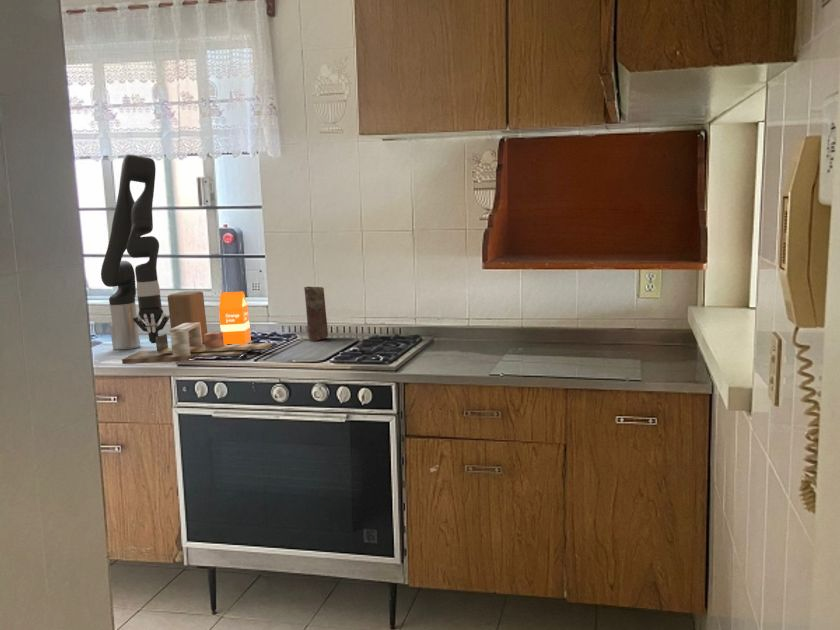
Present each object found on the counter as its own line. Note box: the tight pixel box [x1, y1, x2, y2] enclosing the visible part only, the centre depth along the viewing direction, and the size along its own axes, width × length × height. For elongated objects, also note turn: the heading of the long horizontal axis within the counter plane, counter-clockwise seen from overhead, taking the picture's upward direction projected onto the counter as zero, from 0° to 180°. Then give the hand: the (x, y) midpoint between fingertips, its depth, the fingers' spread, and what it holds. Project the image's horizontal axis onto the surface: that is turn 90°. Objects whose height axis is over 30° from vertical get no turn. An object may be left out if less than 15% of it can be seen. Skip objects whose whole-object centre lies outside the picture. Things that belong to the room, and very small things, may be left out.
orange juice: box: [218, 291, 252, 345], centre depth 295 cm, size 8×9×20 cm
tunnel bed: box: [121, 322, 248, 365], centre depth 280 cm, size 42×14×11 cm, turn 85°
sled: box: [155, 330, 272, 354], centre depth 279 cm, size 39×7×6 cm, turn 85°
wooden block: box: [167, 290, 208, 345], centre depth 303 cm, size 10×10×20 cm
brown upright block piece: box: [303, 286, 329, 342], centre depth 297 cm, size 8×7×20 cm
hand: (154, 342), depth 281 cm, fingers closed
